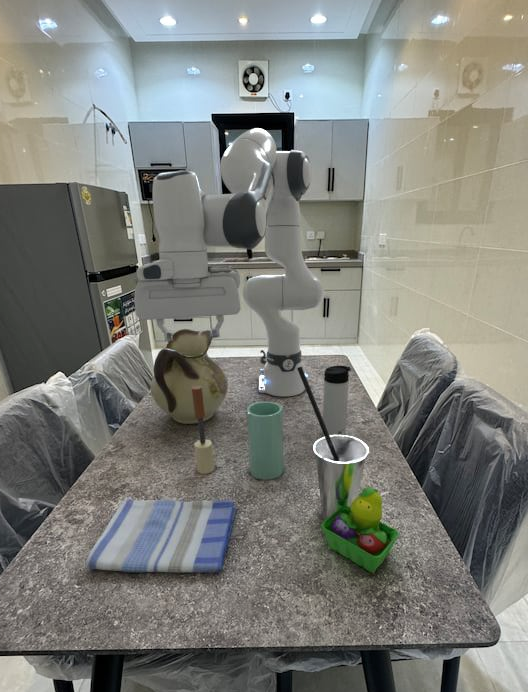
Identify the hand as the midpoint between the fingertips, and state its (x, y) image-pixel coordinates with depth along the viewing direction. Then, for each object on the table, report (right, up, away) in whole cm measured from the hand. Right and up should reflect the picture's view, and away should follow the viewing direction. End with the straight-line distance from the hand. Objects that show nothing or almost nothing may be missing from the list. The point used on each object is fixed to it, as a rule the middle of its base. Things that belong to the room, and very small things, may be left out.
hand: (192, 338), depth 79 cm
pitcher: (-9, -18, +39) cm, 44 cm away
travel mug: (+33, -23, +26) cm, 48 cm away
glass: (+29, -35, -3) cm, 46 cm away
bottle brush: (0, -29, +13) cm, 32 cm away
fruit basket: (+32, -39, -11) cm, 52 cm away
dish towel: (-3, -38, -8) cm, 39 cm away
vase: (+15, -29, +12) cm, 35 cm away
